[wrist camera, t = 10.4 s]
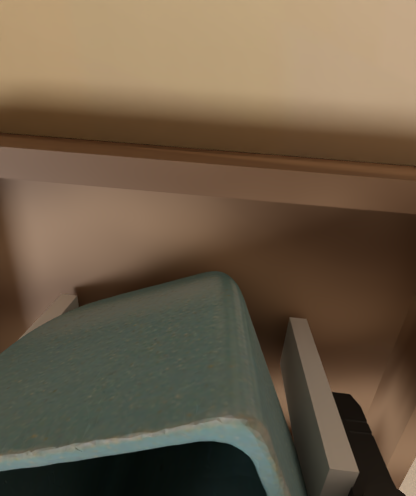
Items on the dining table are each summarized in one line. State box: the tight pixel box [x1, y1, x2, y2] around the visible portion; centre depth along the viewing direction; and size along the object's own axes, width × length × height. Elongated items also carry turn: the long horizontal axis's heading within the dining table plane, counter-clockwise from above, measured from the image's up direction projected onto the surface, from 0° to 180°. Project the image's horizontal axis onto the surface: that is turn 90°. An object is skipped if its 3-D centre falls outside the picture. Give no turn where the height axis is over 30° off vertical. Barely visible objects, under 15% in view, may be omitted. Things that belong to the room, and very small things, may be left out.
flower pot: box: [0, 271, 308, 496], centre depth 11 cm, size 9×9×9 cm
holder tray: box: [0, 133, 416, 489], centre depth 14 cm, size 16×22×4 cm
